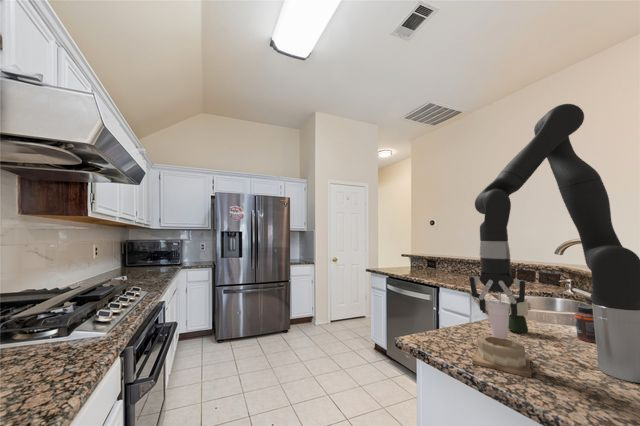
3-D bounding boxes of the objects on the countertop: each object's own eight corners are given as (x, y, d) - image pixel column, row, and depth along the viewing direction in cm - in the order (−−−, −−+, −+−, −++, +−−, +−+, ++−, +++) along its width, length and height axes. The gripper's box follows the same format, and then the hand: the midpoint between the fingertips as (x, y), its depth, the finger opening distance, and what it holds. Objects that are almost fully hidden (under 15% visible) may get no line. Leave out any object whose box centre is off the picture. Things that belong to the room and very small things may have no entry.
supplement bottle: (606, 343, 90) (602, 309, 91) (588, 343, 90) (585, 309, 92) (589, 337, 96) (586, 305, 97) (572, 337, 96) (569, 304, 97)
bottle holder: (529, 359, 77) (527, 340, 78) (531, 377, 67) (529, 355, 68) (477, 349, 85) (476, 331, 86) (472, 363, 75) (471, 343, 75)
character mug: (525, 328, 105) (522, 295, 107) (540, 335, 98) (537, 298, 100) (497, 328, 105) (495, 295, 107) (510, 334, 98) (507, 298, 100)
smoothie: (512, 342, 72) (509, 289, 74) (485, 337, 76) (482, 287, 78) (513, 336, 78) (510, 286, 79) (487, 331, 81) (485, 284, 83)
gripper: (524, 257, 78) (529, 316, 76) (469, 255, 87) (471, 308, 85) (525, 258, 72) (529, 322, 70) (465, 256, 81) (468, 313, 79)
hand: (498, 314), depth 78 cm, fingers closed on smoothie, 6 cm apart
